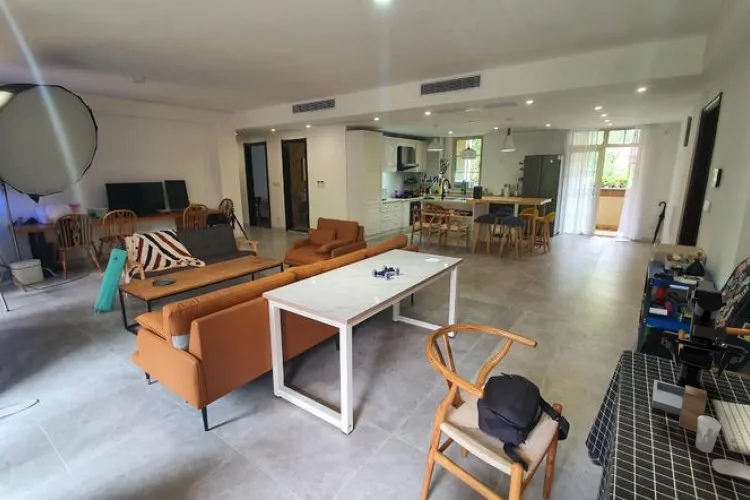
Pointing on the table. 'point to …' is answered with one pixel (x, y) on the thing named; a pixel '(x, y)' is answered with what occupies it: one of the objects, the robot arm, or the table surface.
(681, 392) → the tray
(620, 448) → the table surface
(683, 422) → the block
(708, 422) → the milkshake
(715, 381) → the table surface
